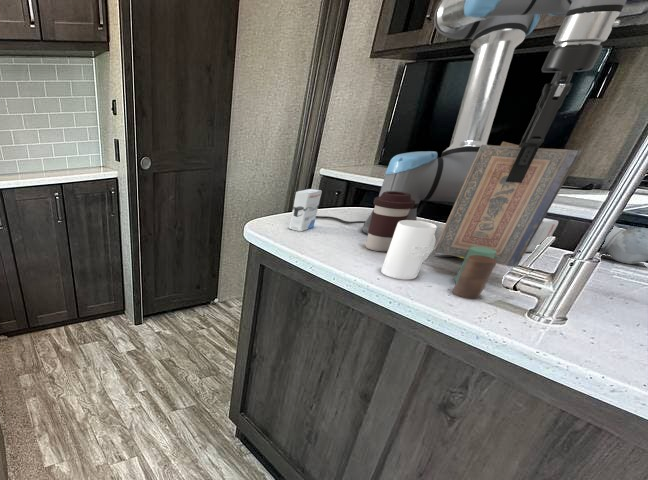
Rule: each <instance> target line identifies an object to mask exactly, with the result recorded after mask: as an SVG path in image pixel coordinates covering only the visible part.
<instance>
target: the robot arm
mask: <svg viewBox="0 0 648 480" xmlns="http://www.w3.org/2000/svg"><path fill="white" fill-rule="evenodd" d="M627 1H628V0H440V2H439V3H438V5H437V7H436V9H435V12H434V17H433V22H434V27H435V29H436V30H437V32H438V33H439V34H440V35H442V36H444V37H446V38H449V39H452V40H453V39H454V40H471V45H470V48H469V49H470V51H471V52H472V53H473V54H474V57H473V61H472V64H471V67H470V70H469V75H468V79H467V83H466V86H465V90H464V93H463V97H462V100H461V104H460V108H459V112H458V115H457V119H456V123H455V126H454V130H453V133H452V137H451V140H450V144H449V147H446V149H445V150H443V151H442V152H441V155H440V157H439V156H438V151H433V150H432V151H431V150H427V151H423V150H422V151H410V152H404V153H399V154H396V155H394V156H393V157H392V158H390V161H389V163H388V166H387V168H386V171H385V172H384V174H385V175H384V179H383V182H382V185H381V187H380V191H379V195H378V197H380V196H381V195H382V193H383V192H387V191H397V192H405V193H409V194H410V195H411V199H412V200H414V201H415V204H414V207H413V208H411V209H410V210H409V213H408V217H407V219H406V220H416V221H417V215H418V214H417V211H418V208H419V205H420V203H421V201H429V202H447V203H453V204H455V202H456V200H457V198H458V195H459V193H460V191H461V189H462V186H463V184H464V182H465V180H466V178H467V175H468V173H469V171H470V169H471V166H472V164H473V162H474V160H475V158H476V155H477V153H478V151H479V149H480V146H481V145H488V141H489V137H490V134H491V131H492V126H493V122H494V119H495V117H496V114H497V110H498V106H499V103H500V99H501V96H502V93H503V89H504V86H505V83H506V79H507V76H508V72H509V69H510V65H511V62H512V60H513V56H514V51H515V49H516V48H517V47H518V46H519V45H520V44H522V43H523V42H524V40H525V39H526V37H527V36H529V35H530V34H531V33H532V32H533V31H534V29H535V28H536V27H537V25H538V23H539V21H540V19H541V15H548V16H551V17H561V16H563V17H564V18H563V20H562V22H561V24H560V26H559V29H558V31H557V33H556V36H555V38H554V40H553V41H552V44H553V45H554V47H553V48H551V50H549V52H548V54H547V56H546V58H545V60H544V62H543V65H542V67H541V73H555V74H554V76H553V77H552V79H551V81H550V83H545V84H544V87H543V88H542V90H541V93H540V94H541V95H540V97H539V100H538V102H537V103H536V107H535V111H534V113H533V116H532V117H531V120H530V122H529V123H528V126H527V128H526V130H525V132H524V134H523V135H522V137H521V140H520V143H519V144H518V145H519V147H522V148H521V150H520V152H519V154H518V156H517V158H516V161H515V163H514V165H513V167H512V169H511V171H510V173H509V175H508V178H507V180H506V182H517V183H522V181H523V179H524V177H525V175H526V173H527V171H528V169H529V167H530V165H531V163H532V161H533V158H534V156H535V154H536V152H537V150H538V148H540V146H541V145H542V144H543V143H544V142H545V138H546V136H547V134H548V132H549V130H550V127H551V126H552V124H553V122H554V120H555V118H556V116H557V113H558V111H559V109H560V108H561V107H562V105H563V104H564V102H565V99H566V97H567V95H568V94H569V93H570V91H571V89H572V87H573V85H574V83H572V82H571V80H572V77H573V75H574V73H580V72H588V71H590V70H592V69H593V68H594V66H595V64H596V62H597V60H598V58H599V56H600V54H601V52H602V50H603V45H601V43H604V42H605V41H607V40H608V37H609V36H610V34H611V32H612V30H613V28H616V27H618V26H620V24H621V20H620V19H617V18H618V17H619V16H620V14H621V12H622V10H623V8H624V7H625V4H626V3H627ZM373 211H374V209H373V210H372V211H371V212H370V214H369V216H368V217H367V219H366V220H353V221H349V220H344V219H341V218H339V217H335V216H325V215H316V218H315V219H328V220H335V221H339V222H341V223H343V224H346V225H347V224H349V225H353V224H363V226H362V229H361V231H362V232H363V233H364V234H367V235H368V229H369V225H370V221H371V217H372V213H373Z"/></svg>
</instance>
